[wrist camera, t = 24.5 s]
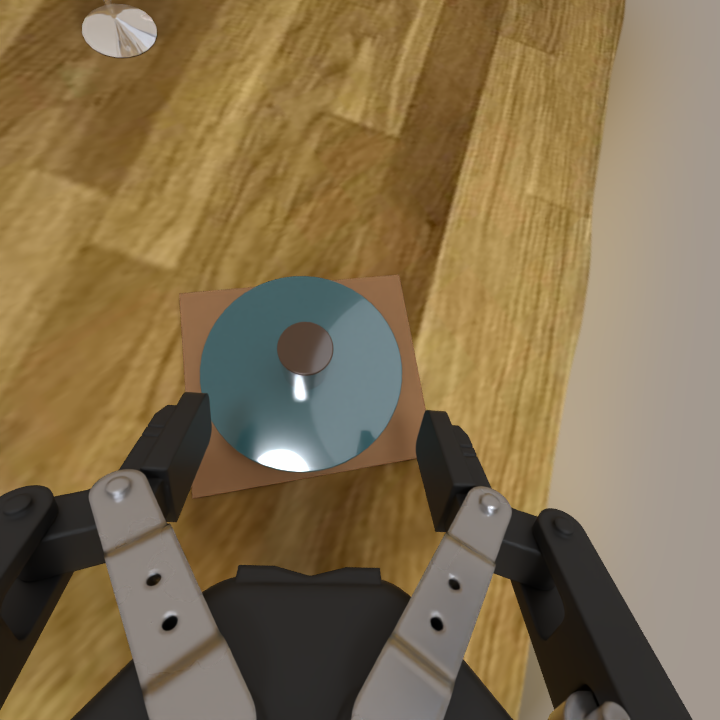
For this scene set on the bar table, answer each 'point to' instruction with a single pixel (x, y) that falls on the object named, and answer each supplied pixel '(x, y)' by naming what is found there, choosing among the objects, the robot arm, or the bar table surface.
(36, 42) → the bar table surface
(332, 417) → the lid with knob
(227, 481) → the mat
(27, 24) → the bar table surface
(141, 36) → the wineglass
